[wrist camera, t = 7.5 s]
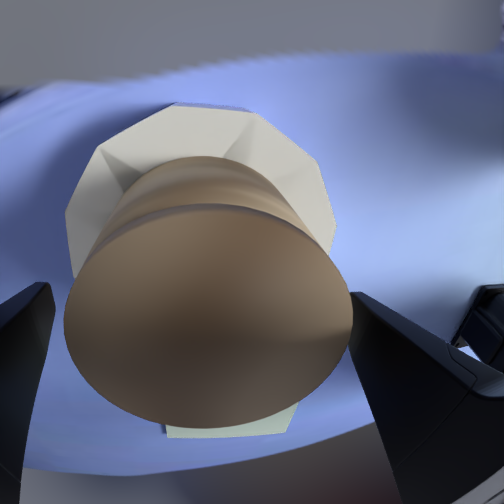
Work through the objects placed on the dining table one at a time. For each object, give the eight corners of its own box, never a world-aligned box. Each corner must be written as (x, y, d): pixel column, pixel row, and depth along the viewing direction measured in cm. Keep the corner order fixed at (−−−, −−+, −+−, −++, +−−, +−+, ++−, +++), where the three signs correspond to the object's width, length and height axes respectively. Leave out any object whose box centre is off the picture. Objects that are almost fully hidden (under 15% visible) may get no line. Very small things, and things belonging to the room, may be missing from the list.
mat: (323, 331, 19) (325, 335, 19) (284, 428, 25) (285, 432, 24) (156, 332, 17) (156, 337, 17) (167, 433, 23) (167, 437, 22)
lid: (313, 167, 11) (391, 228, 6) (277, 325, 14) (310, 420, 10) (103, 152, 9) (37, 208, 5) (115, 321, 12) (96, 423, 8)
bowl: (324, 120, 13) (358, 131, 10) (284, 306, 18) (300, 347, 15) (91, 101, 11) (62, 107, 8) (101, 301, 15) (87, 343, 13)
